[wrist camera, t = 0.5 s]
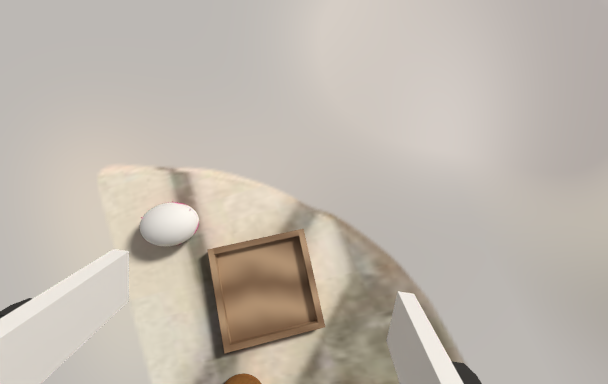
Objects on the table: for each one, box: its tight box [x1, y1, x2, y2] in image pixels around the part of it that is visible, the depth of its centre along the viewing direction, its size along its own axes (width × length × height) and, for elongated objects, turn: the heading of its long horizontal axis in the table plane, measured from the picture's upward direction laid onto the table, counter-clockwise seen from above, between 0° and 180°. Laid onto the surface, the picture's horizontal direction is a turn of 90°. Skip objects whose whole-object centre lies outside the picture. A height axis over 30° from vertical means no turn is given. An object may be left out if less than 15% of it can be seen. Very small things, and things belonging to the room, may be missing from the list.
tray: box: [208, 229, 325, 353], centre depth 43 cm, size 14×14×2 cm
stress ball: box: [140, 203, 199, 246], centre depth 43 cm, size 8×8×7 cm
